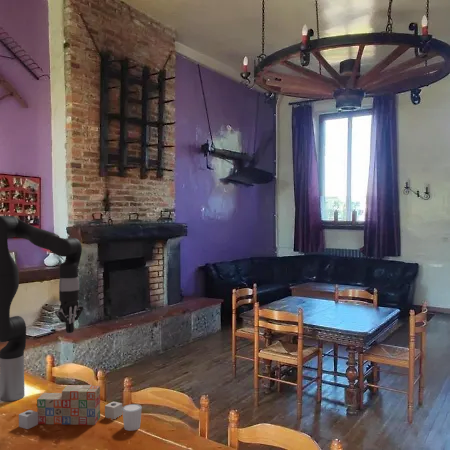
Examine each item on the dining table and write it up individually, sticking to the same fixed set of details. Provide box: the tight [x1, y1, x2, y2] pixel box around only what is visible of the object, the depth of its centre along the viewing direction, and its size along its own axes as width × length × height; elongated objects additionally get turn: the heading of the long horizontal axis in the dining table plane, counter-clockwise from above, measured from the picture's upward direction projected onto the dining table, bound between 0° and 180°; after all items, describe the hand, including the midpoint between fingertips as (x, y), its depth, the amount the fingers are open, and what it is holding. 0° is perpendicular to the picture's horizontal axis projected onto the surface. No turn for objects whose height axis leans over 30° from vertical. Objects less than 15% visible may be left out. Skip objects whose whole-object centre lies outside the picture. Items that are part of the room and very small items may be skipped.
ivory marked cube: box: [104, 401, 123, 420], centre depth 176 cm, size 4×4×5 cm
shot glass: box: [122, 403, 143, 432], centre depth 167 cm, size 7×7×7 cm
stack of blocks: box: [36, 384, 101, 426], centre depth 173 cm, size 21×6×12 cm, turn 88°
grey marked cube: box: [18, 409, 39, 430], centre depth 169 cm, size 4×4×5 cm
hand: (69, 332), depth 186 cm, fingers closed
